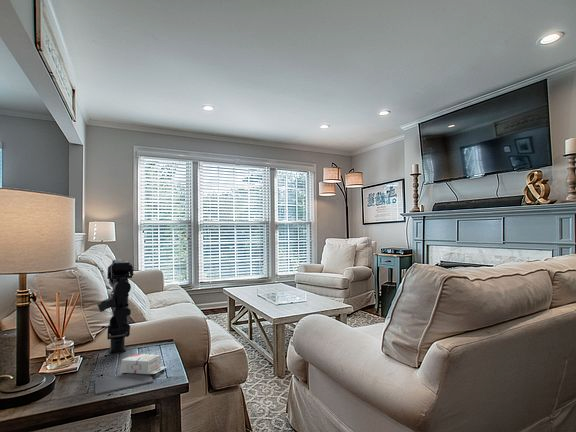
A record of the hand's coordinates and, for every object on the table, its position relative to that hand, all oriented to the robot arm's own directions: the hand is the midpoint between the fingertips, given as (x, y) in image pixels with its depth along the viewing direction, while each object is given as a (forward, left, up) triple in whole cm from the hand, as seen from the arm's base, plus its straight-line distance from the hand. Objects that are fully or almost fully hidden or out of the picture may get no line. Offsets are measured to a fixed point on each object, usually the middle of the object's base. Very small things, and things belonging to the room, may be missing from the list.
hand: (120, 328), depth 139 cm
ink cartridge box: (+12, +2, -10) cm, 16 cm away
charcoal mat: (+23, 0, -13) cm, 26 cm away
